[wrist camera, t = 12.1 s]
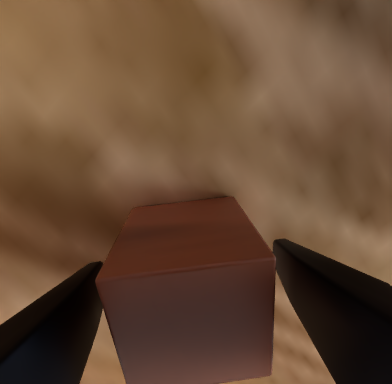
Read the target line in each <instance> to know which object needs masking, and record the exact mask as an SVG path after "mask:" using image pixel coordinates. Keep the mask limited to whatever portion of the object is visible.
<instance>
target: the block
mask: <svg viewBox="0 0 392 384" xmlns="http://www.w3.org/2000/svg"><path fill="white" fill-rule="evenodd" d="M275 274H276V257H275V255H274V254H273V252H272V251H271V250H270V248H269V247H268V245H267V244H266V242H265V241H264V240H263V238H262V237H261V235H260V234H259V232H258V231H257V230H256V228H255V227H254V225H253V224H252V222H251V221H250V219H249V218H248V217H247V215H246V214H245V212H244V211H243V209H242V208H241V207H240V205H239V204H238V202H237V201H236V199H235V198H234V197H232V196H231V197H223V198H214V199H205V200H196V201H188V202H179V203H170V204H161V205H153V206H144V207H135V208H132V210H131V212H130V214H129V216H128V218H127V220H126V222H125V224H124V226H123V227H122V229H121V231H120V233H119V235H118V237H117V239H116V241H115V243H114V245H113V247H112V248H111V250H110V252H109V254H108V256H107V258H106V260H105V262H104V264H103V266H102V268H101V269H100V271H99V273H98V275H97V277H96V280H95V283H96V286H97V290H98V293H99V296H100V299H101V303H102V306H103V309H104V312H105V316H106V319H107V322H108V325H109V328H110V332H111V335H112V338H113V341H114V345H115V348H116V351H117V354H118V358H119V361H120V364H121V367H122V370H123V374H124V377H125V380H126V383H127V384H218V383H225V382H232V381H239V380H245V379H252V378H259V377H266V376H270V375H271V374H272V358H273V330H274V302H275Z"/></svg>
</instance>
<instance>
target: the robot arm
mask: <svg viewBox="0 0 392 384" xmlns="http://www.w3.org/2000/svg"><path fill="white" fill-rule="evenodd" d="M273 254H274V255H275V257H276V271H277V273H278V275H279V278H280V280H281V282H282V285H283V287H284V289H285V292H286V294H287V296H288V298H289V300H290V303H291V304H292V306H293V308H294V310H295V312H296V313H297V315H298V317H299V319H300V321H301V322H302V324H303V326H304V328H305V329H306V331H307V333H308V335H309V337H310V338H311V340H312V342H313V344H314V345H315V347H316V349H317V351H318V352H319V354H320V356H321V358H322V360H323V361H324V363H325V365H326V367H327V368H328V370H329V372H330V374H331V376H332V377H333V379H334V381H335V383H336V384H392V286H390V284H388V283H386V282H383V281H381V280H379V279H377V278H374V277H372V276H370V275H367V274H365V273H363V272H360V271H358V270H356V269H354V268H351V267H349V266H347V265H344V264H342V263H340V262H337V261H335V260H333V259H331V258H328V257H326V256H324V255H321V254H319V253H317V252H314V251H312V250H310V249H308V248H305V247H303V246H301V245H298V244H296V243H294V242H291V241H289V240H287V239H277V240H274V241H273ZM102 266H103V263H102V262H101V261H99V262H91V263H89V264H87V265H86V266H84V267H83V268H82V269H80V270H79V271H77V272H76V273H74V274H73V275H72V276H70V277H69V278H67V279H66V280H64V281H63V282H62V283H60V284H59V285H57V286H56V287H54V288H53V289H51V290H50V291H49V292H47V293H46V294H44V295H43V296H41V297H40V298H39V299H37V300H36V301H34V302H33V303H31V304H30V305H29V306H27V307H26V308H24V309H23V310H21V311H20V312H18V313H17V314H16V315H14V316H13V317H11V318H10V319H8V320H7V321H6V322H4V323H3V324H1V325H0V384H79V383H80V380H81V377H82V374H83V371H84V368H85V366H86V363H87V360H88V357H89V354H90V351H91V348H92V345H93V342H94V339H95V336H96V333H97V330H98V326H99V322H100V318H101V314H102V309H103V306H102V303H101V299H100V296H99V293H98V290H97V286H96V283H95V280H96V277H97V275H98V273H99V271H100V269H101V268H102Z"/></svg>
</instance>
